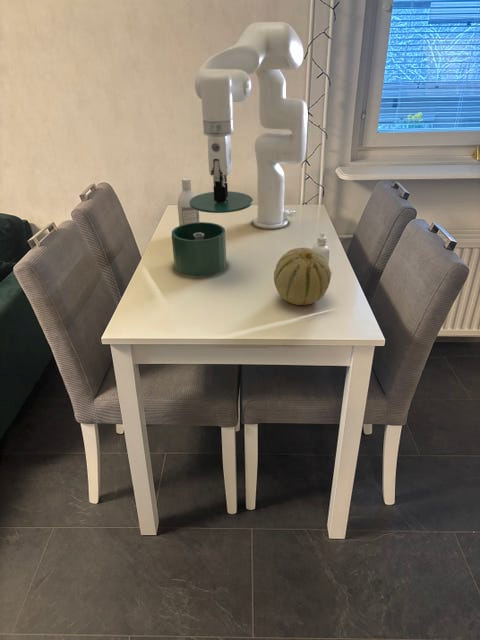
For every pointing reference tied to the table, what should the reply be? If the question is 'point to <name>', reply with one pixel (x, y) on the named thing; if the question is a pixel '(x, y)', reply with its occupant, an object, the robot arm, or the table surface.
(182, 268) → the tin
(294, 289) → the cantaloupe
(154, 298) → the table surface
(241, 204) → the tin lid
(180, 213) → the bath foam
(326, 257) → the eye dropper bottle
